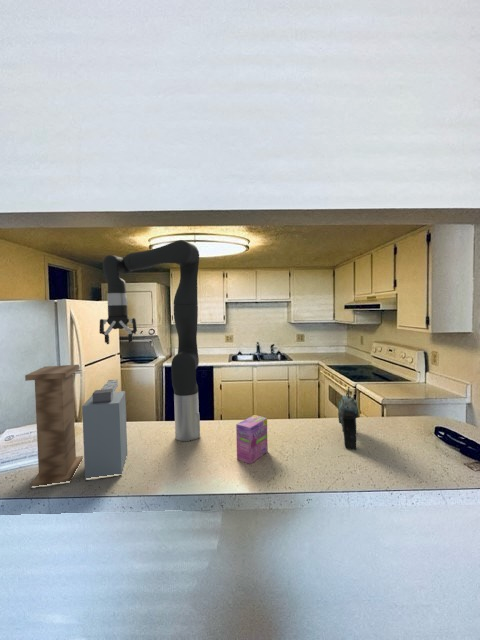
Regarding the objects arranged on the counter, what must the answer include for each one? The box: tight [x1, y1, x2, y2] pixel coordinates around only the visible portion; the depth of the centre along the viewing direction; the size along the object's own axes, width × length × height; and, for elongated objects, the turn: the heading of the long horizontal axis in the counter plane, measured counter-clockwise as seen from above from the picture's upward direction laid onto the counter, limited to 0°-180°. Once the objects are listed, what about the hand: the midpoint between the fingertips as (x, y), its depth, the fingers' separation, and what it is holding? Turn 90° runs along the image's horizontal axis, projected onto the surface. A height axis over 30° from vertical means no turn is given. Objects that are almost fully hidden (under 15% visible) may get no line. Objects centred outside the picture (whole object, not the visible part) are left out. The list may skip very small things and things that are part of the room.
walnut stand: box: [24, 364, 84, 488], centre depth 92 cm, size 10×14×32 cm
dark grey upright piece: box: [337, 386, 359, 450], centre depth 111 cm, size 20×6×20 cm, turn 165°
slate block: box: [81, 390, 128, 480], centre depth 95 cm, size 10×14×22 cm
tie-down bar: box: [92, 379, 119, 404], centre depth 100 cm, size 20×5×3 cm, turn 14°
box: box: [235, 414, 268, 465], centre depth 101 cm, size 10×6×12 cm, turn 143°
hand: (119, 343), depth 126 cm, fingers open, 8 cm apart
